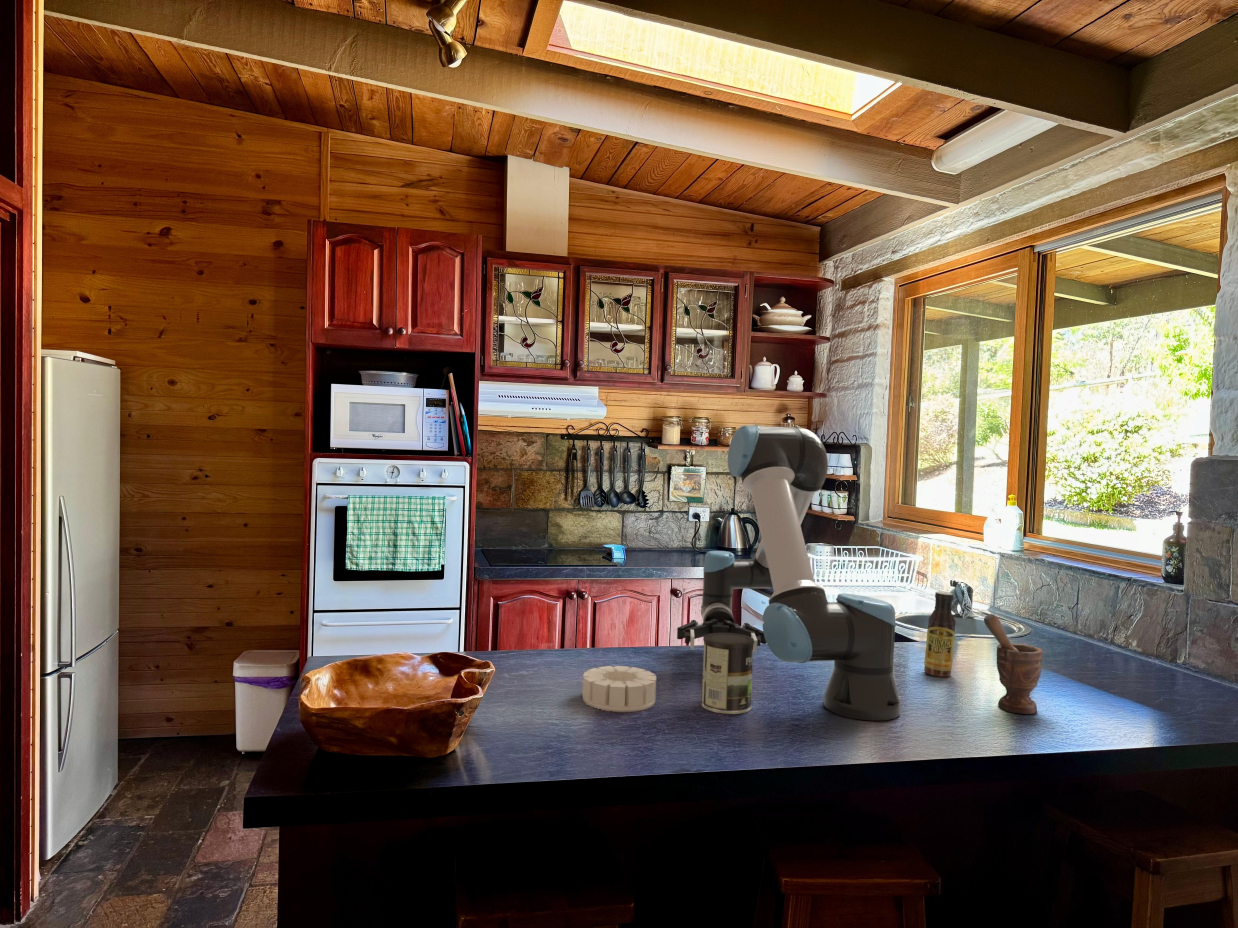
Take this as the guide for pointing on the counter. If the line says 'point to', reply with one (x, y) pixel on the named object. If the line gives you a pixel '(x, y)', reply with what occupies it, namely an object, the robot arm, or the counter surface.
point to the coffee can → (727, 673)
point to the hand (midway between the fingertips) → (723, 644)
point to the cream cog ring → (619, 688)
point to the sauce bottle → (940, 637)
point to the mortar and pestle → (1015, 670)
